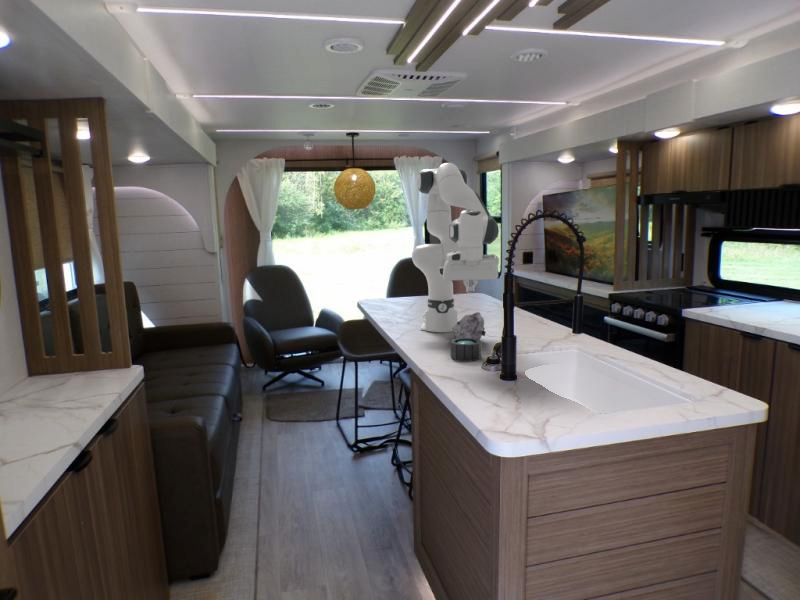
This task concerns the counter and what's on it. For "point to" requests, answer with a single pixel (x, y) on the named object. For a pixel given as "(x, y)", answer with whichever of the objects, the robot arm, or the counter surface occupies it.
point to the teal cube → (465, 342)
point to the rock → (469, 327)
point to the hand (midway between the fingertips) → (470, 291)
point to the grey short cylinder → (465, 349)
